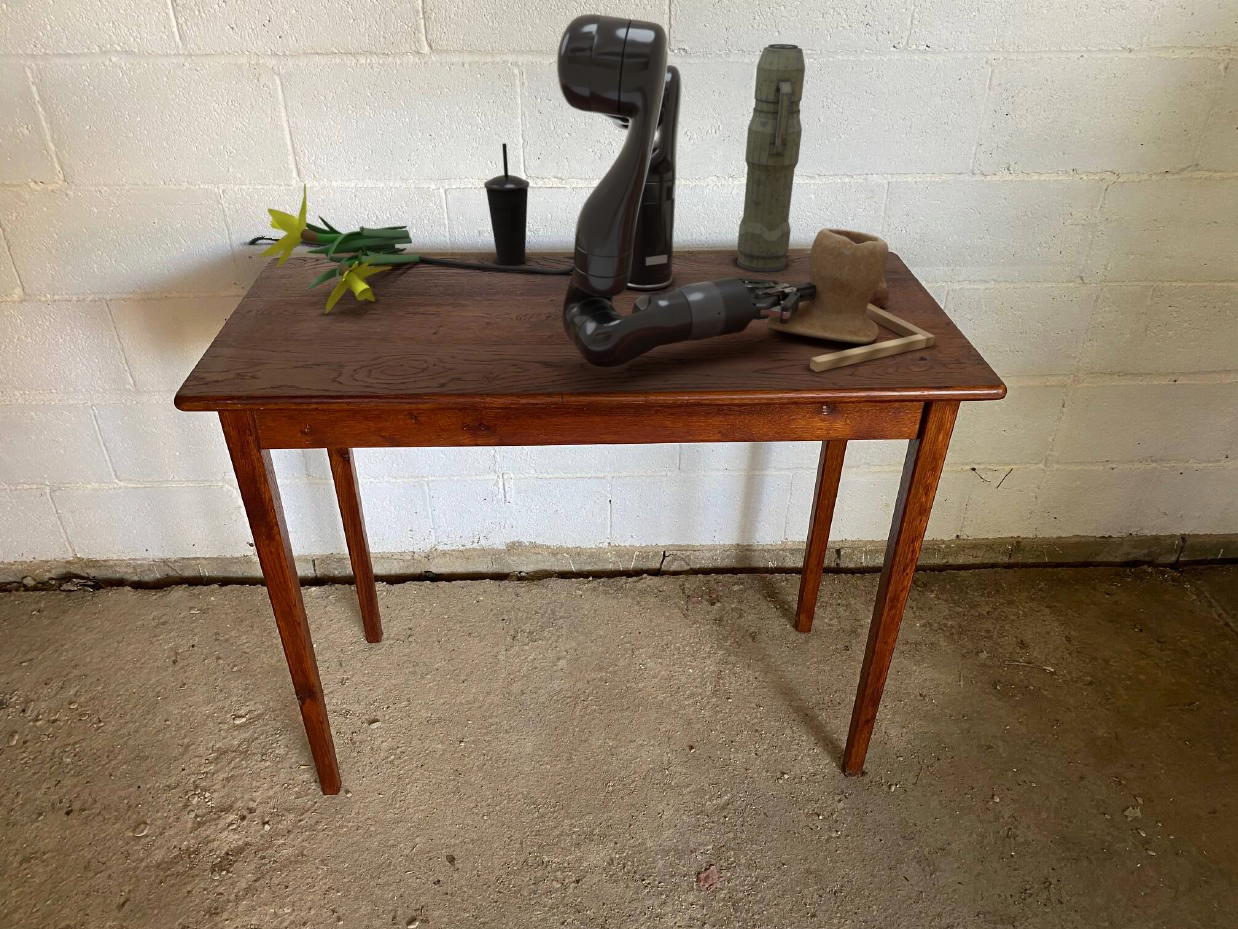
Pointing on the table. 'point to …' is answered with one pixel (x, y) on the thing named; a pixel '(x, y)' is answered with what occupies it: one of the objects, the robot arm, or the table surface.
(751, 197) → the thermos
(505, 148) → the drinking cup
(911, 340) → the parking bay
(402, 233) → the daffodil flowers
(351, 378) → the table surface
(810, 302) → the stone cup
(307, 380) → the table surface
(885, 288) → the rusty brown cylinder
